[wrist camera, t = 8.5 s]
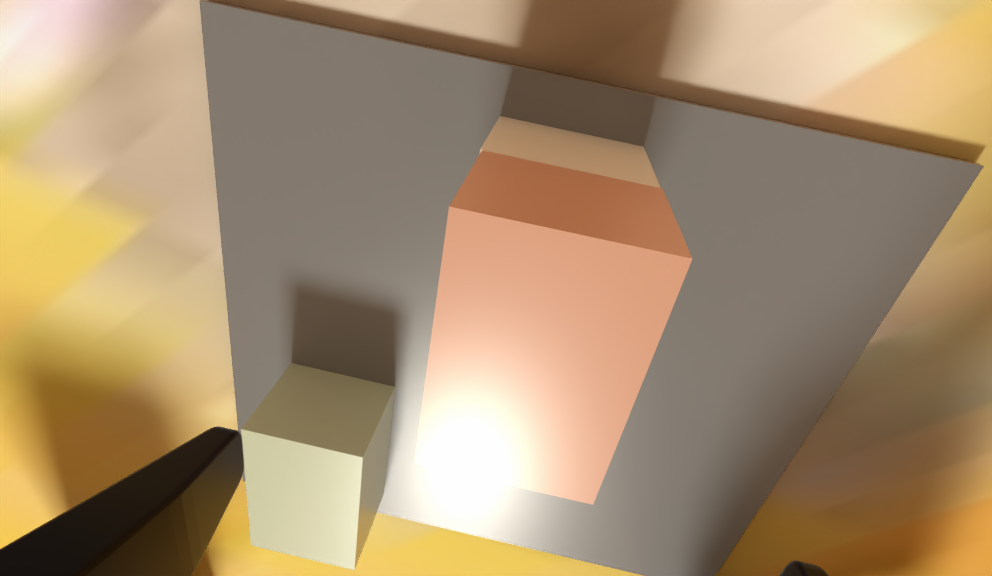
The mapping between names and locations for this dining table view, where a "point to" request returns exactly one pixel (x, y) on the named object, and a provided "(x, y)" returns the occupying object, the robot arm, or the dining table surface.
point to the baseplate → (381, 244)
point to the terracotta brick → (545, 323)
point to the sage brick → (317, 464)
